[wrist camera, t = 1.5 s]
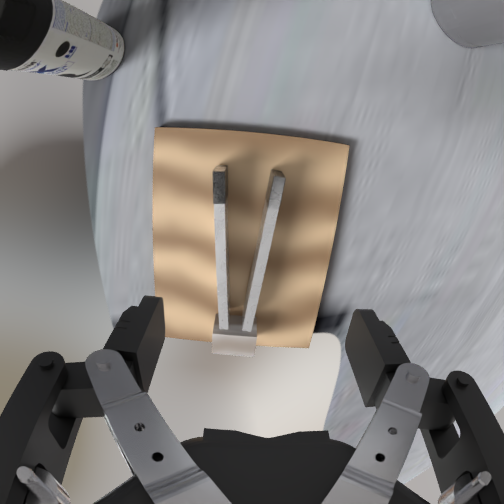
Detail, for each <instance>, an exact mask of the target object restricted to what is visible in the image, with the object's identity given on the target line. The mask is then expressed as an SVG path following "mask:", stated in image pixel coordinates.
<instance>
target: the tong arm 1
mask: <svg viewBox="0 0 504 504" xmlns="http://www.w3.org/2000/svg"><path fill="white" fill-rule="evenodd" d="M212 173H213V204H214V227H215V253H216V276H217V296H218V314H219V329H227V330H228V329H229V318H230V283H229V242H228V165H217V166H216V167H215V169H214V170H213V171H212Z"/></svg>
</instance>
